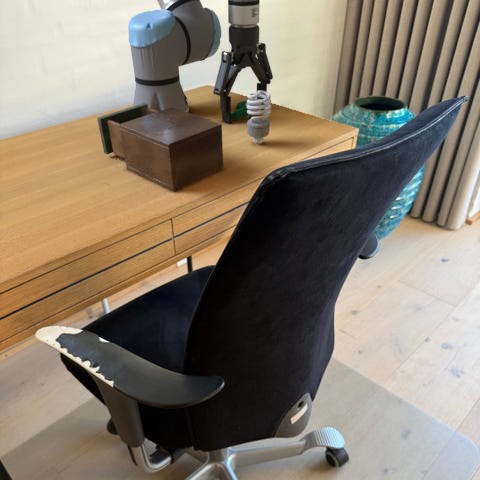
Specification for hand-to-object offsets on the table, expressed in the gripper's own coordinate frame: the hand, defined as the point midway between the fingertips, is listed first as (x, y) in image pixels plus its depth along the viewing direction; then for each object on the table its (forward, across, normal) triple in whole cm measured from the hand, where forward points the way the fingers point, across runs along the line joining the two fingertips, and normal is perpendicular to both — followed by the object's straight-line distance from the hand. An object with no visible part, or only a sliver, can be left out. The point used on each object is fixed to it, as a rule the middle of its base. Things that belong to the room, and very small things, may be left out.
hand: (244, 115), depth 129 cm
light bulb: (0, -12, -16) cm, 20 cm away
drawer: (-1, -35, +1) cm, 35 cm away
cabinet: (0, -35, -12) cm, 37 cm away
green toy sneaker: (0, 0, 0) cm, 0 cm away
